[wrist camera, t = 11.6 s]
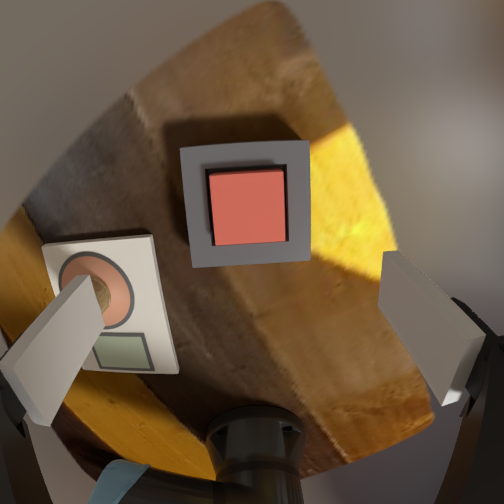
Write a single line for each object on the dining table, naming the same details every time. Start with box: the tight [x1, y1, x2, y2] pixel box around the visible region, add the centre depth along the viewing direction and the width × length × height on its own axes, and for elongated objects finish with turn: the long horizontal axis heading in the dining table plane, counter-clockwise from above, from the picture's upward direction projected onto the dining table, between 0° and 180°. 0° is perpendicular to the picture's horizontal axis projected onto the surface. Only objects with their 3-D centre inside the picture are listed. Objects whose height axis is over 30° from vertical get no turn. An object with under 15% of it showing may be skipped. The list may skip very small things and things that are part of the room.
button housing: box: [180, 139, 311, 268], centre depth 30 cm, size 11×11×4 cm
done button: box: [209, 168, 285, 246], centre depth 28 cm, size 6×6×3 cm
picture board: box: [41, 234, 179, 374], centre depth 35 cm, size 18×14×1 cm
